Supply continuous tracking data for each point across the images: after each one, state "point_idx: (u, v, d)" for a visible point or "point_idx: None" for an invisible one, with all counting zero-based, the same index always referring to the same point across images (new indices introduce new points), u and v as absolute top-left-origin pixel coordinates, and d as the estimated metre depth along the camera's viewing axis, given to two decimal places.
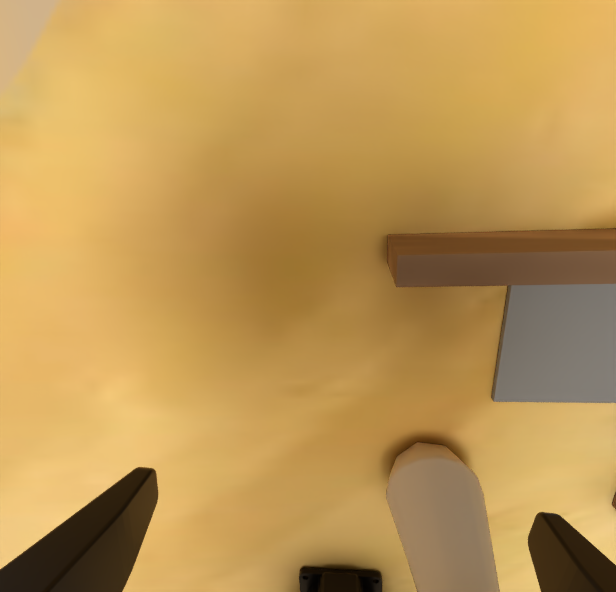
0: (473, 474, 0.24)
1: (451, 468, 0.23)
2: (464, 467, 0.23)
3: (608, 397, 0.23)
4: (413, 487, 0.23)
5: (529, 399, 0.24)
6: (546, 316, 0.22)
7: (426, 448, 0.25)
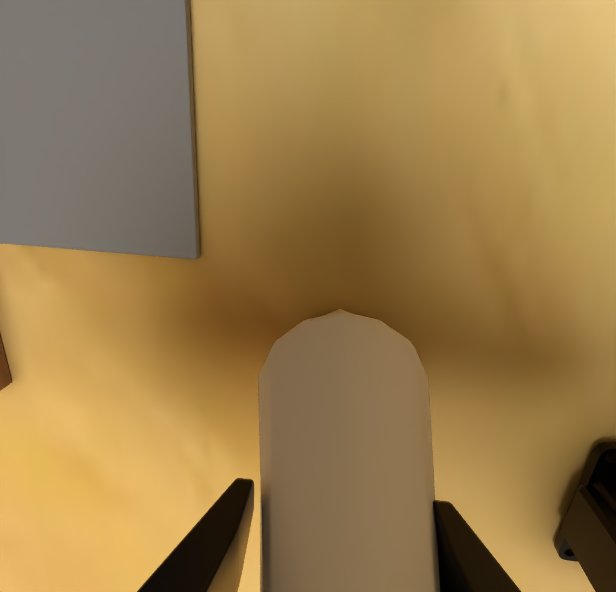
0: (292, 332, 0.13)
1: (262, 375, 0.13)
2: (272, 348, 0.13)
3: (174, 56, 0.12)
4: None
5: (188, 202, 0.14)
6: (37, 190, 0.14)
7: None
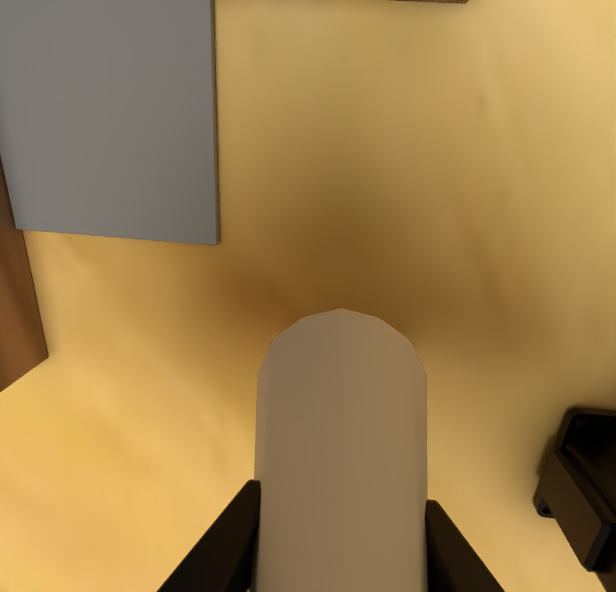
0: (291, 327, 0.13)
1: (261, 370, 0.13)
2: (271, 343, 0.13)
3: (200, 70, 0.14)
4: None
5: (210, 195, 0.16)
6: (78, 184, 0.16)
7: None
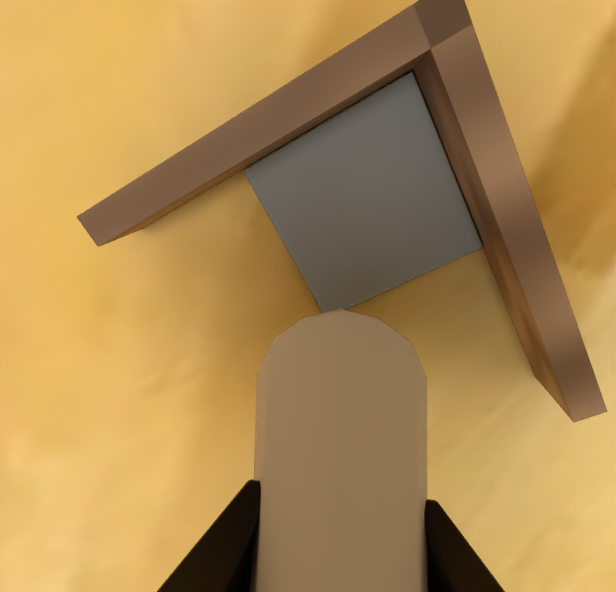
0: (291, 328, 0.13)
1: (261, 371, 0.13)
2: (271, 344, 0.13)
3: (434, 260, 0.20)
4: None
5: (358, 300, 0.21)
6: (310, 208, 0.20)
7: None
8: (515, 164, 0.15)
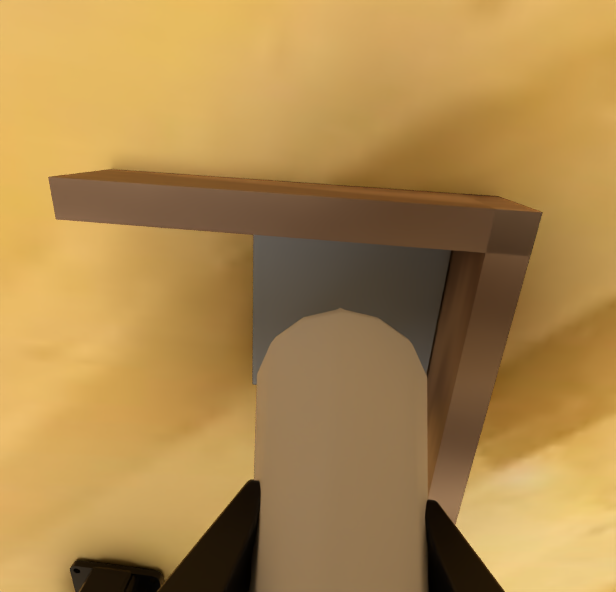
0: (291, 328, 0.13)
1: (261, 371, 0.13)
2: (271, 344, 0.13)
3: None
4: None
5: None
6: (296, 287, 0.18)
7: None
8: (490, 380, 0.15)
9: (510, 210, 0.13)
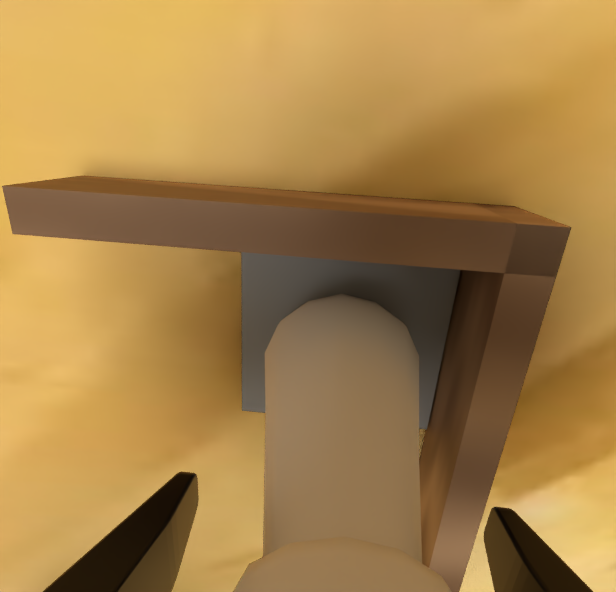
0: (297, 310, 0.14)
1: (268, 350, 0.14)
2: (278, 325, 0.14)
3: None
4: None
5: None
6: (289, 305, 0.17)
7: None
8: (507, 415, 0.14)
9: (534, 225, 0.11)
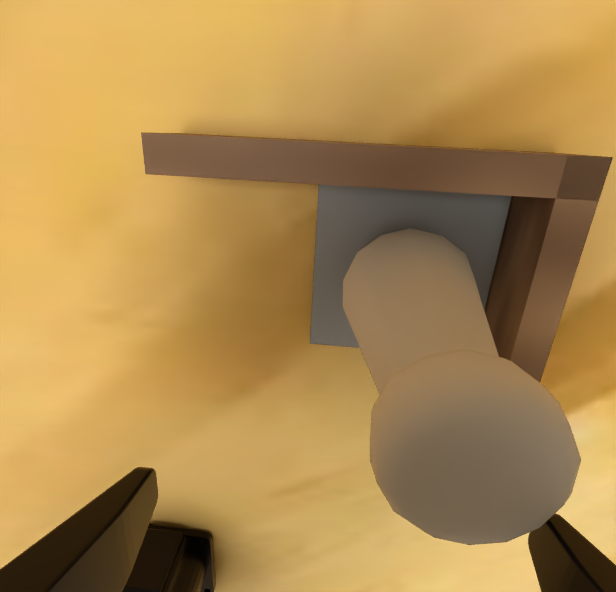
0: (373, 242, 0.17)
1: (348, 275, 0.17)
2: (356, 255, 0.17)
3: None
4: None
5: (347, 343, 0.21)
6: (357, 245, 0.19)
7: None
8: (553, 325, 0.16)
9: (581, 156, 0.14)
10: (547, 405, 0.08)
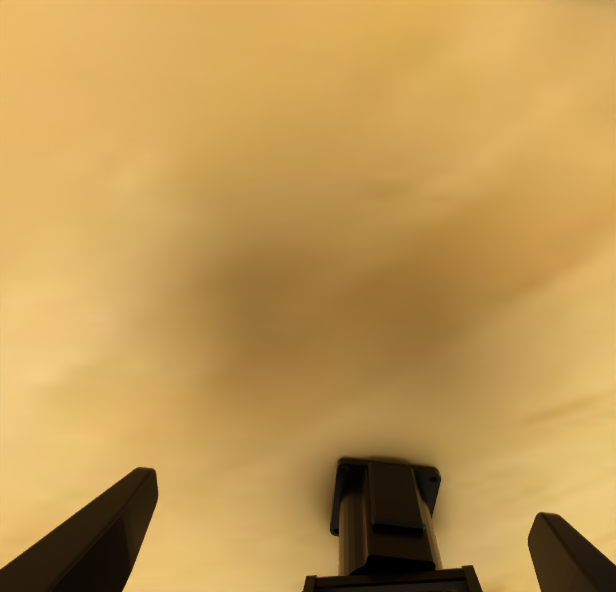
0: None
1: None
2: None
3: None
4: None
5: None
6: None
7: None
8: None
9: None
10: None
